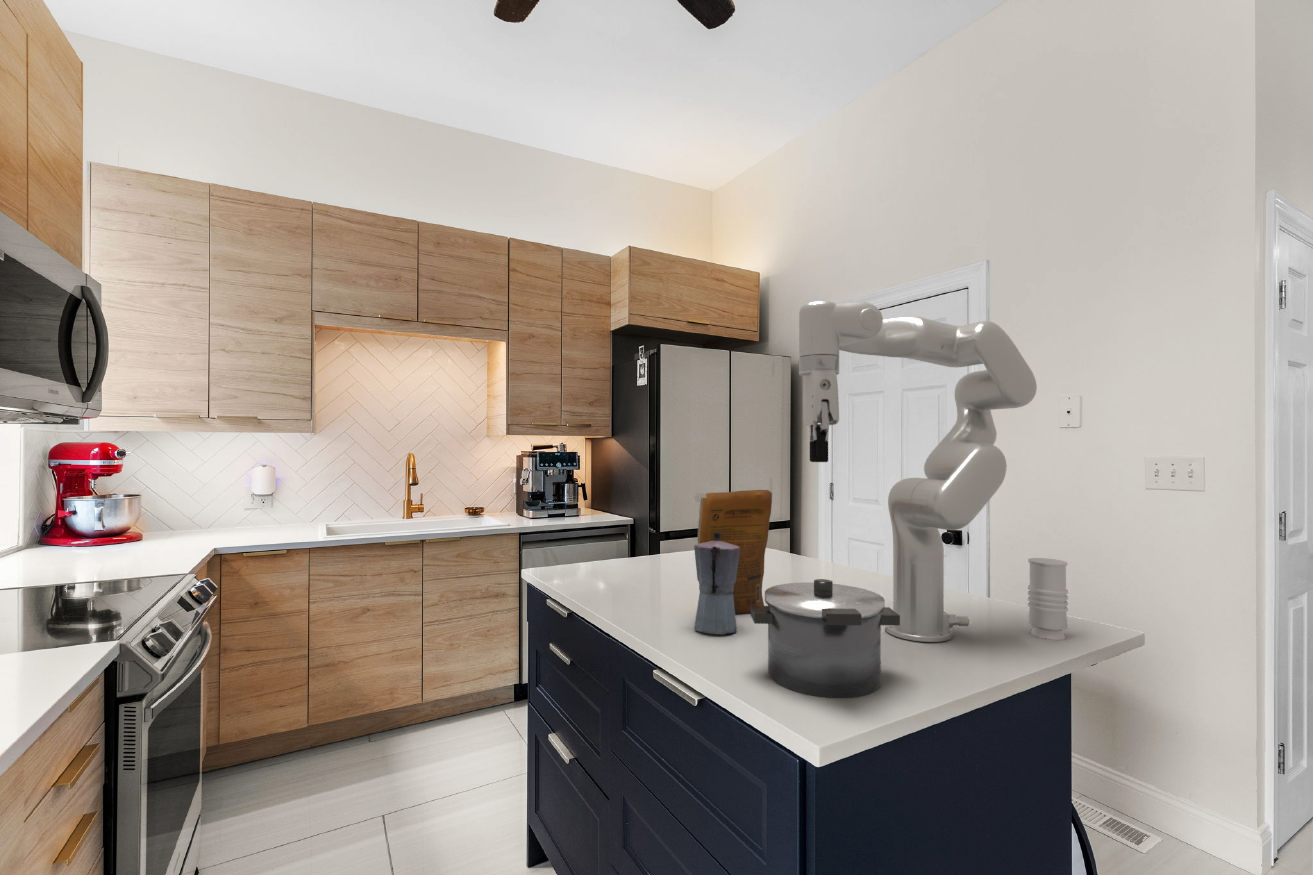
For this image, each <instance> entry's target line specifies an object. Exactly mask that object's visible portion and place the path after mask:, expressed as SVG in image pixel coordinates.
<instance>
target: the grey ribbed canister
mask: <svg viewBox="0 0 1313 875" xmlns="http://www.w3.org/2000/svg"><path fill="white" fill-rule="evenodd" d="M1027 562H1028V563H1029V585H1027V590H1028V592H1027V595H1028V597H1027V601H1028V602H1027V606H1028V607H1029V610H1028V622H1027V623H1028V624H1029V625H1030V626H1032V627H1033V628H1032V630H1031V631H1030V634H1031V635H1032V636H1034V637H1037V638H1040V639H1045V638H1046V639H1045V640H1053V641H1057V640H1059V641H1060V640H1061V641H1062V640H1064V638H1065V639H1066V636H1065V634H1064V632H1063V631H1064V630H1067V629H1068V627H1069V626H1068V618H1067V612H1068V611H1069V608H1068V605H1069V603H1068V600H1069V597H1068V593H1069V591H1068V589H1067V566H1068V562H1067V561H1065V560H1061V559H1055V558H1045V557H1032V558H1028V559H1027Z"/></svg>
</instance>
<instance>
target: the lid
mask: <svg viewBox="0 0 1313 875" xmlns="http://www.w3.org/2000/svg"><path fill="white" fill-rule="evenodd" d="M885 601H886V600H885V598H884V597H883V596H882V595H880V594H879V593H876V592H874V591H872V590H868V589H865V588H860V587H856V586H852V585H845V584H836V583H834V582H833V580H830V579H825V578H816V579H814V580H813V582H789V583H782V584H777V585H773V586H770V587H768V588H766V589H765V591H764V603H766V605H767V606H768V605H769V606H770V607H772V608H774V609H777V610H780V611H783V612H786V613H790V614H795V615H800V616H806V617H813V618H822V620H823V621H824V622H825V623H826V624H827V625H861V618H866V617H871V616H875V615H878V614H880V613H882V612H883V611H884V610H885V605H886V604H885Z"/></svg>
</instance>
